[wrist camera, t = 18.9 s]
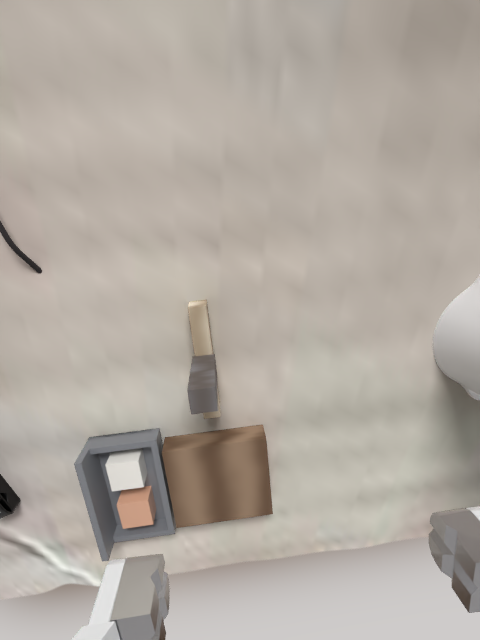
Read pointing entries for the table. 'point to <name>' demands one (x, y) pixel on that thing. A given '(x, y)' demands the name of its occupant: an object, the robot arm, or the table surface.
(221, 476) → the brown square slab
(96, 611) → the robot arm
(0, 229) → the glasses
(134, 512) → the tile
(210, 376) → the grey block with handle
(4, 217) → the table surface
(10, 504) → the portable electronic device stand
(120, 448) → the box
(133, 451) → the tile
